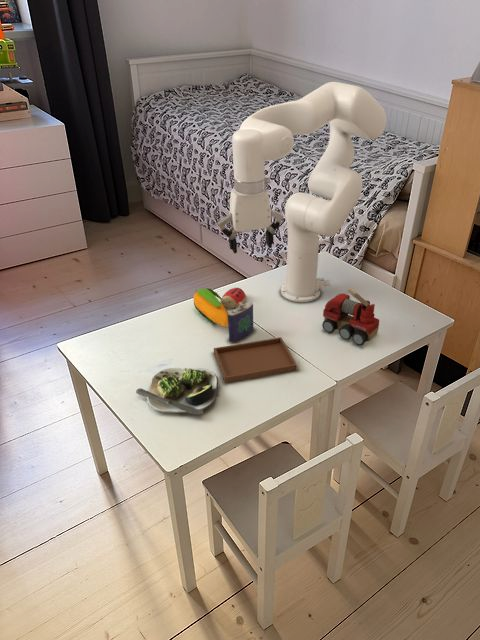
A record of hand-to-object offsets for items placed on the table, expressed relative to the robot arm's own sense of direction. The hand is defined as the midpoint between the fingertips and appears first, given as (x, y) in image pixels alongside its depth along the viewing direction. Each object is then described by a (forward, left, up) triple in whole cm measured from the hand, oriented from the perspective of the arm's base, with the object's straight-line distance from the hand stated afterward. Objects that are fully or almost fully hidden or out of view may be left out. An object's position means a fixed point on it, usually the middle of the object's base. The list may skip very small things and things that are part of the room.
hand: (251, 248), depth 144 cm
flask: (+5, +6, -24) cm, 25 cm away
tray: (+5, +19, -23) cm, 30 cm away
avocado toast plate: (+25, +27, -23) cm, 43 cm away
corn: (+10, -4, -24) cm, 26 cm away
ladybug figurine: (+3, -12, -24) cm, 27 cm away
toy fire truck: (-24, +14, -24) cm, 37 cm away
